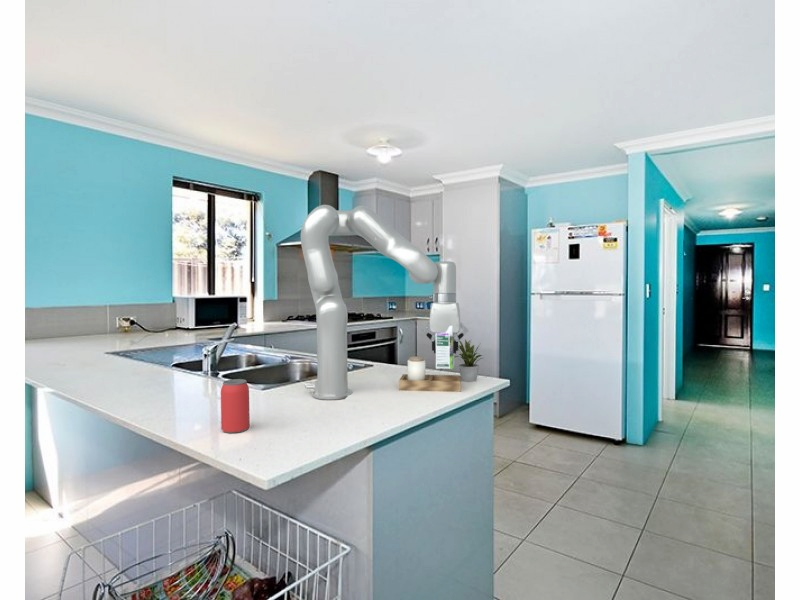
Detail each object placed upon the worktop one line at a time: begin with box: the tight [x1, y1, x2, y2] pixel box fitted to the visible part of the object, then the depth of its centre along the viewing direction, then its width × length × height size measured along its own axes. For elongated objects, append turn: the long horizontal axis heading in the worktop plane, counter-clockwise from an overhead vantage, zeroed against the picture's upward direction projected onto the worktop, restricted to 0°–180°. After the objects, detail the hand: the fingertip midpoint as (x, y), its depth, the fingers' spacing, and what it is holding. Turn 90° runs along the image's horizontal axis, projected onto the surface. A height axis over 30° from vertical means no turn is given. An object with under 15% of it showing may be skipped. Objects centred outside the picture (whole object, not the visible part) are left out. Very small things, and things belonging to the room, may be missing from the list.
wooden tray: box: [398, 373, 462, 393], centre depth 158 cm, size 20×10×4 cm, turn 82°
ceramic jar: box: [407, 355, 426, 380], centre depth 158 cm, size 6×6×10 cm
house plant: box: [454, 339, 484, 383], centre depth 169 cm, size 14×14×16 cm
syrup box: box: [435, 326, 455, 370], centre depth 157 cm, size 6×6×14 cm
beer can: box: [220, 378, 251, 434], centre depth 116 cm, size 7×7×12 cm
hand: (445, 352), depth 157 cm, fingers closed on syrup box, 5 cm apart
